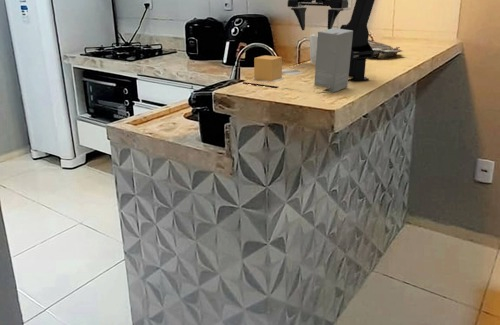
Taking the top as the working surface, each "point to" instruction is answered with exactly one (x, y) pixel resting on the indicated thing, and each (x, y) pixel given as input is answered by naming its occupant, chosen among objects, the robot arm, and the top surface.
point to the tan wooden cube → (268, 68)
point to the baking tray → (382, 50)
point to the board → (284, 72)
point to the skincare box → (333, 59)
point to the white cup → (313, 47)
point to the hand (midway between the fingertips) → (316, 31)
